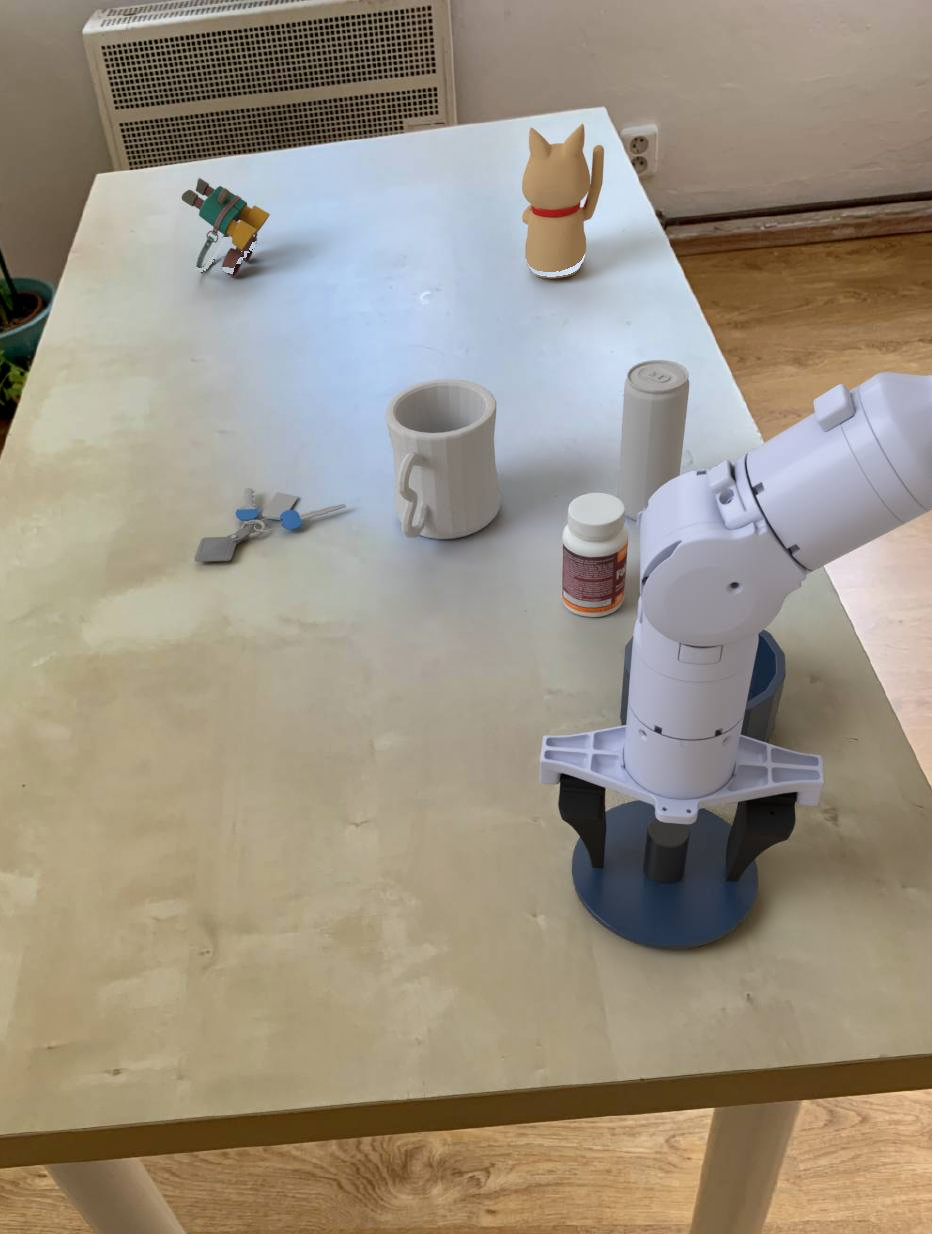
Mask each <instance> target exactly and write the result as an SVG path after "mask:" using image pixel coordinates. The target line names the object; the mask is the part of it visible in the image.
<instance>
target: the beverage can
mask: <svg viewBox="0 0 932 1234" xmlns="http://www.w3.org/2000/svg"><path fill="white" fill-rule="evenodd" d="M689 374H690V373H689V371H688V369H687V368H686V367H685V366H684V365H682V364H680V363H678V362H676V361H672V360H668V359H667V360H665V359H652V360H645V361H641V362H640V363H637V364H635V365H633V366H632V367H631V368H629V369H628V371H627V373H626V379H625V380H624V388H623V401H622V402H623V403H622V417H621V418H622V419H621V421H622V422H621V436H620V449H619V450H620V451H619V467H618V468H619V469H618V482H617V485H618V486H617V498H619V499H620V500H621V501H622V502H623V504H624V506H625V517H627V518H629V519H630V520H632V521H635V522H637V515H638V513H639V512H641V511H643V510H644V507H645V508H647V507H648V500H649V499H650V498H651V496H652V495H653V494H654V493H655V492H656V491H657V490H658V489H659V488H660V487H661V486H663V485H664V484H665V483H667V482H668V481H670V480H672V479H674V478H676V477H678V476H680V475H681V466H682V457H683V448H684V439H685V429H686V422H687V421H686V420H687V413H688V412H687V411H688V401H689V394H690V380H689V377H690V376H689Z"/></svg>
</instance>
